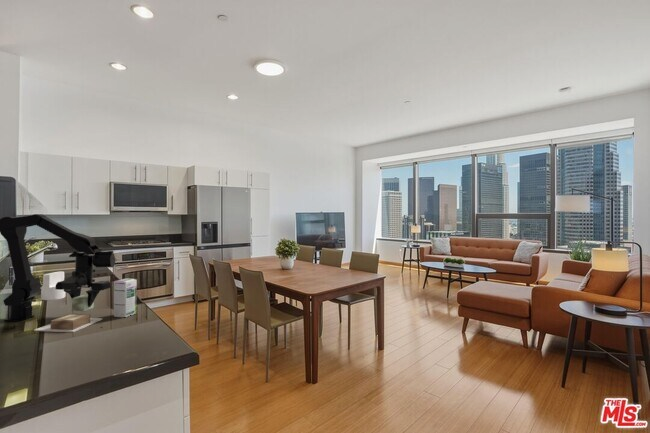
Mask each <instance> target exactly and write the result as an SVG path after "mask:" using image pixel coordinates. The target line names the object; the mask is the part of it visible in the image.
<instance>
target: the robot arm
mask: <svg viewBox="0 0 650 433" xmlns="http://www.w3.org/2000/svg"><path fill="white" fill-rule="evenodd" d="M35 226H37V227H40V228H41V229H42V230H44V231H46V232H49V233H50V234H53V235H54V236H57V237H58V238H61V240H64V241H65V242H66V243H67V244H68V245H69V246H70V248H73V249H74V250H73V252H72V253H70V254H69V255H68V258H75V259H74V260H75V261H74V262H75V264H74V265H75V266H74V267H75V268H74V271H73V270H72V272H71V276H68V277H66V279H65V278H64V281H60V282H57V284H56V287H55V289H58V290H62V289H64V290H63V291H64V292H66V293H67V294H69V296H70V298H71V299H72V298H74V297H78V296H81V292H82V288H83V289H84V288H85V289H86V288H88V289H89V290H86V291H85V293H86V294H87V295H88V307H91V305H92V303H93V302H94V303H95V300H96V298H97V296H98V295H99V293H100V292H101V291H104V290H108V289H110V288H111V286H112V283H111V281H109V280H99V281H96V279H93V278H94V277H93V274H94V273H95V272H96V269H97V268H98V269H99V268H100V269H102V268H107V269H108V268H114V267H115V265H116V255H115V253H114V250H107V251H106V250H105V251H104V250H103V251H102V250H101V249H100V247H99V246H98V245H97V244H96V239H95V238H94V237H92V236H89V235H86V234H83V233H79V232H77V231H73V230H71V229H70V228H68V227H66V226H64V225H62V224H61V223H58V222H57V221H55V220H53V219H52V218H49V217H48V216H46V214H42V213H41V214H38V213H36V214H35V213H34V214H31V215H26V216H25V215H24V216H4V217H2V218H0V235H1V236H2V237H3V238H4V239H5V240H6V242H7V247H8V251H9V257H10V262H11V266H12V270H13V274H14V275H13V276H14V279H13V282H12V284H11V294H9V295H8V296H7V297H6V298H5V299H4V300H3V304H4V305H5V306H7V318H3V320H7V322H21V321H24V320H27V319H30V318H33V317H35V315H36V314H33V305H32V301H34V300H35V297H36V296H37V295H38V294H39V293H41V287H42V286H43V285H42V284H41V278H40V276H38V277H35V276H34V275H33V274H32V270H31V266H30V261H29V255H28V252H27V247H26V241H25V237H26V234H27V230H28V228H30V227H35ZM94 267H95V268H96V269H94Z"/></svg>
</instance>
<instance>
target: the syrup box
mask: <svg viewBox="0 0 650 433" xmlns="http://www.w3.org/2000/svg"><path fill="white" fill-rule="evenodd" d="M137 283H138V281H137V279H136V278H123V279H118V280H115V281H114V282H113V317H115V318H124V317H126V318H127V317H128V318H129V317H131V316H133V315H136V314H137V295H138V294H137V292H138V290H137V288H138V286H137V285H138V284H137ZM130 315H131V316H130Z"/></svg>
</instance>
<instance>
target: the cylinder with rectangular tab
mask: <svg viewBox="0 0 650 433" xmlns="http://www.w3.org/2000/svg"><path fill="white" fill-rule="evenodd" d="M42 278H43V279H42V285H41V286H42V287H40V300H42V301H55V300H60V299H64V298H66V293H67V292H64V291H63V290H64V289H62V290H58V289H55V287H56V284H57V282H60V281H64V280H65V271H55V272H50V273H44V274H43V275H42Z"/></svg>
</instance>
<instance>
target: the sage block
mask: <svg viewBox="0 0 650 433" xmlns="http://www.w3.org/2000/svg"><path fill="white" fill-rule="evenodd" d="M93 308H95V301H94V302H93V303H92V305H91V307H88V294H87V295H86V294H83V295H81V294H80V296H78V297H74V298H71V311H72V312H86V311H89V310H92V309H93Z"/></svg>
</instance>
